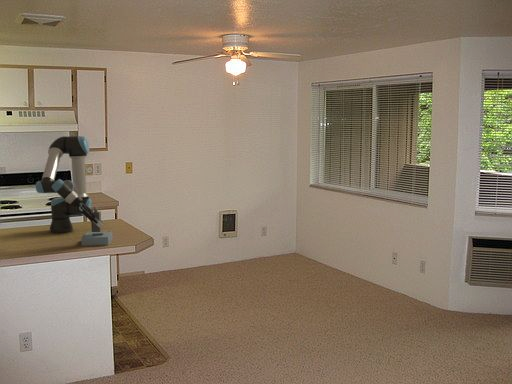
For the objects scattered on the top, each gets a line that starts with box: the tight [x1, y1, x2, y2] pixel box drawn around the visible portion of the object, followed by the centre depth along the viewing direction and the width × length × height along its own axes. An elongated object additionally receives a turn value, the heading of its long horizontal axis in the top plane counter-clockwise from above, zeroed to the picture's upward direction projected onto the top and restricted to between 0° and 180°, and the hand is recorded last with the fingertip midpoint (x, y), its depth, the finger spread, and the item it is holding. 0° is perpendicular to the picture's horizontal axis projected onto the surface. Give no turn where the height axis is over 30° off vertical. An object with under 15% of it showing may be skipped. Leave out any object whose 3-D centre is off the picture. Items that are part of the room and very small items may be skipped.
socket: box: [80, 231, 114, 247], centre depth 362 cm, size 16×16×5 cm
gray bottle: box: [90, 206, 102, 232], centre depth 360 cm, size 5×5×15 cm
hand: (102, 225), depth 360 cm, fingers closed on gray bottle, 5 cm apart
